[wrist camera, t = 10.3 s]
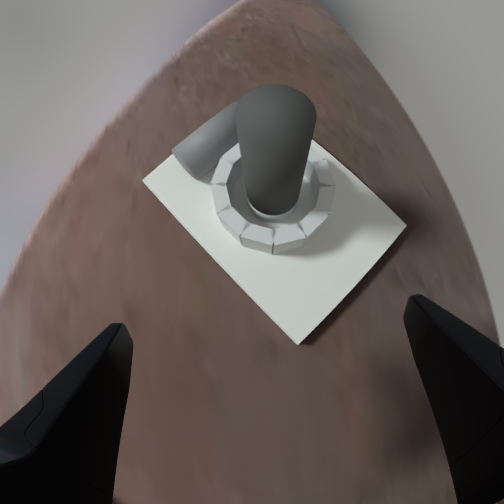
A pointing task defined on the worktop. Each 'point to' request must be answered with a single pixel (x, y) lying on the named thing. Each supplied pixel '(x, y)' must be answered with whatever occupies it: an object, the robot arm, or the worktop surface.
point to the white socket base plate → (276, 225)
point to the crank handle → (274, 148)
